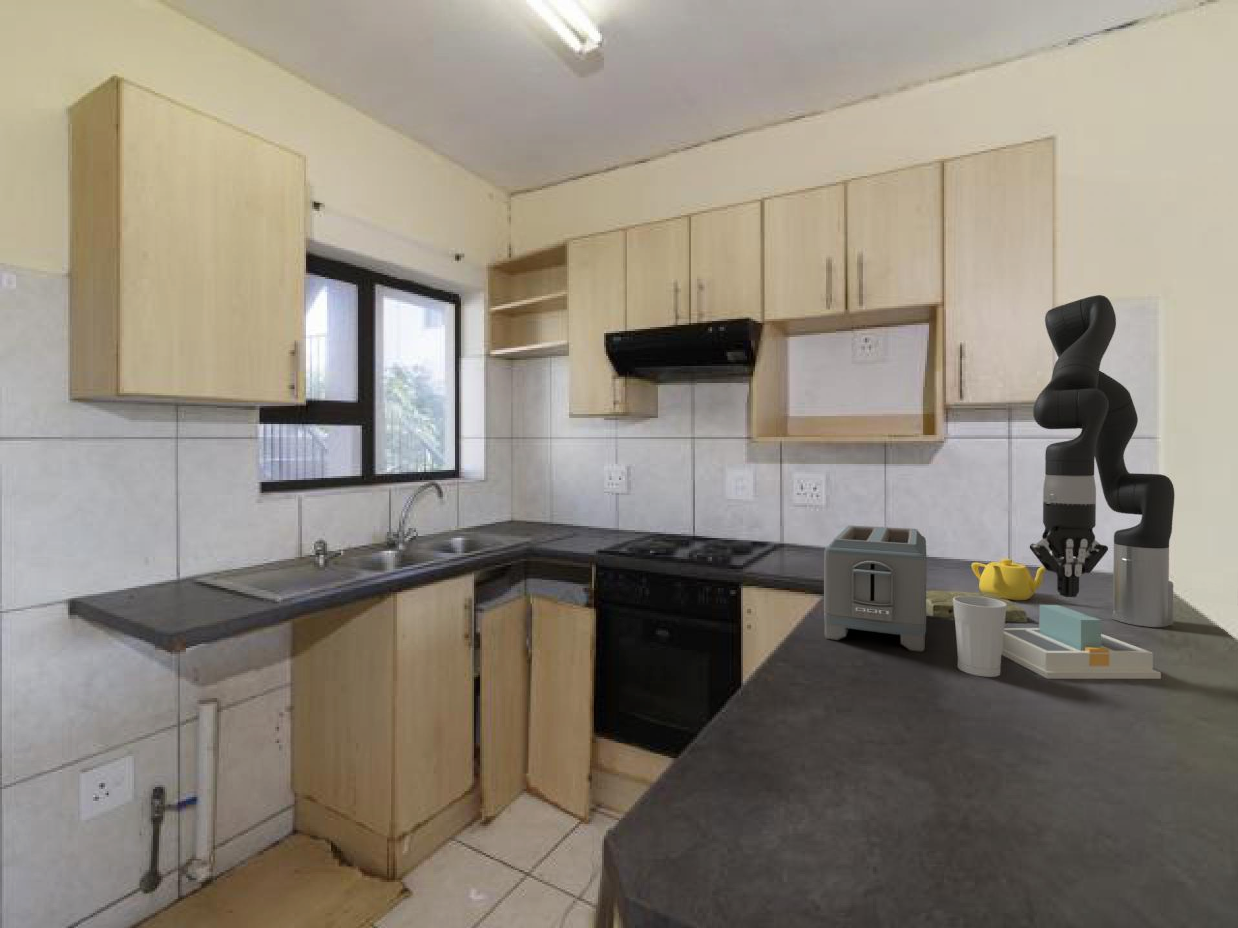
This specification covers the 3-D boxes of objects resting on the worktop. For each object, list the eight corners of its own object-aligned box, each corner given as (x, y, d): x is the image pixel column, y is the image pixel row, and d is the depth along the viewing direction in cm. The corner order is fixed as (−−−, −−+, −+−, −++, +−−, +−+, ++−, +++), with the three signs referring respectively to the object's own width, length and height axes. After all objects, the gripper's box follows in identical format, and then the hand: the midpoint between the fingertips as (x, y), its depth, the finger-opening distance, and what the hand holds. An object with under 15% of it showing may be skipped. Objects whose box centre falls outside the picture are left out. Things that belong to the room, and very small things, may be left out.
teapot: (994, 602, 148) (994, 563, 148) (967, 590, 161) (967, 554, 161) (1051, 603, 147) (1051, 564, 146) (1019, 591, 160) (1019, 555, 160)
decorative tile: (907, 600, 151) (907, 587, 151) (992, 604, 148) (992, 590, 148) (933, 620, 133) (933, 605, 133) (1030, 625, 129) (1030, 609, 129)
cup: (998, 664, 104) (999, 597, 103) (1012, 681, 96) (1013, 608, 96) (948, 659, 106) (948, 594, 106) (957, 675, 99) (958, 604, 98)
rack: (1084, 646, 113) (1084, 623, 113) (1160, 678, 97) (1161, 651, 97) (986, 646, 113) (986, 623, 113) (1047, 678, 97) (1047, 651, 97)
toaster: (820, 644, 115) (820, 541, 115) (840, 605, 145) (841, 524, 144) (926, 659, 106) (926, 548, 106) (925, 615, 136) (925, 528, 136)
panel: (1057, 646, 110) (1058, 604, 110) (1100, 666, 100) (1101, 619, 100) (1039, 646, 110) (1039, 604, 110) (1080, 665, 100) (1081, 619, 100)
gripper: (1088, 499, 108) (1087, 591, 109) (1018, 498, 108) (1017, 591, 109) (1123, 502, 101) (1122, 601, 101) (1047, 502, 101) (1046, 601, 101)
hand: (1067, 596), depth 105 cm, fingers closed
